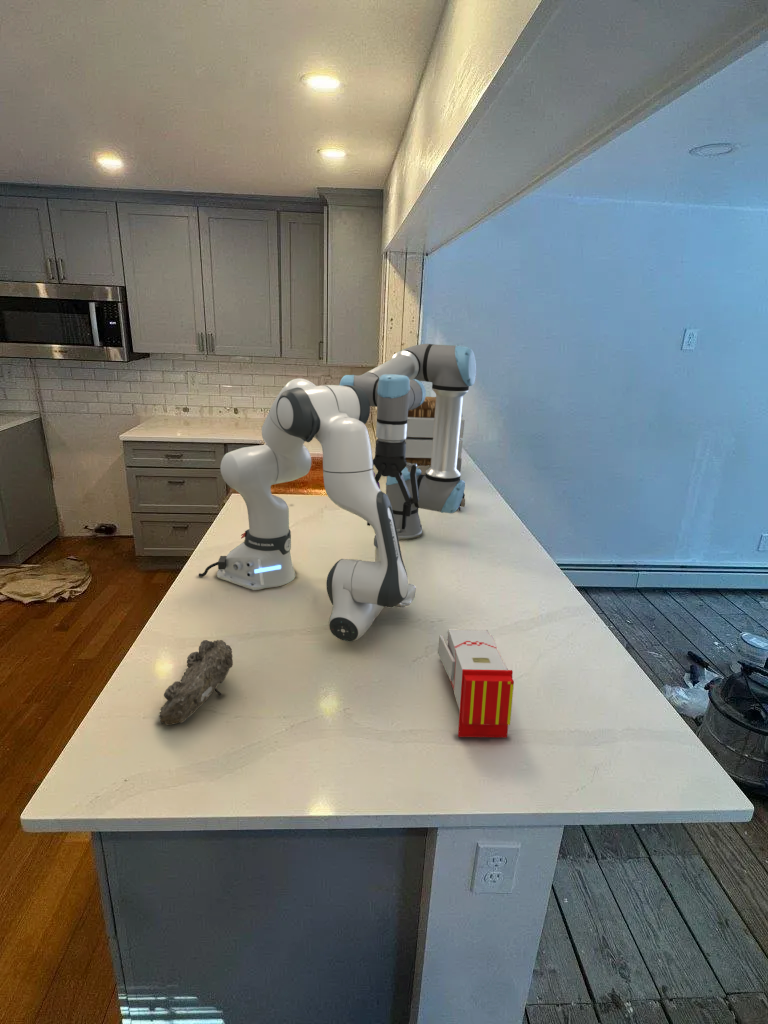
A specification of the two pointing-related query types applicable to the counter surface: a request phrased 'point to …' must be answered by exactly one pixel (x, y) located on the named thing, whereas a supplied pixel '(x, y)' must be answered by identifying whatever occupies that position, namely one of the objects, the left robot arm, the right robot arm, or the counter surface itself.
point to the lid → (376, 541)
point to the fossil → (197, 681)
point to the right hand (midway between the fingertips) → (386, 525)
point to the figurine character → (462, 502)
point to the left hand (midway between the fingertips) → (385, 576)
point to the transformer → (425, 434)
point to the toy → (478, 682)
